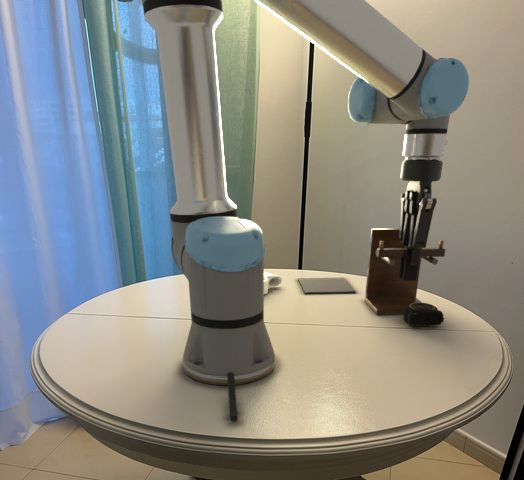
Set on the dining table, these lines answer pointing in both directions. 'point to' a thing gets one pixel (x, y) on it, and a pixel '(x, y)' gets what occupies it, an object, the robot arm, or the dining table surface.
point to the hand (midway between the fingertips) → (407, 278)
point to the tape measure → (422, 314)
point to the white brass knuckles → (271, 281)
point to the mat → (325, 285)
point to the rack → (389, 276)
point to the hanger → (401, 251)
